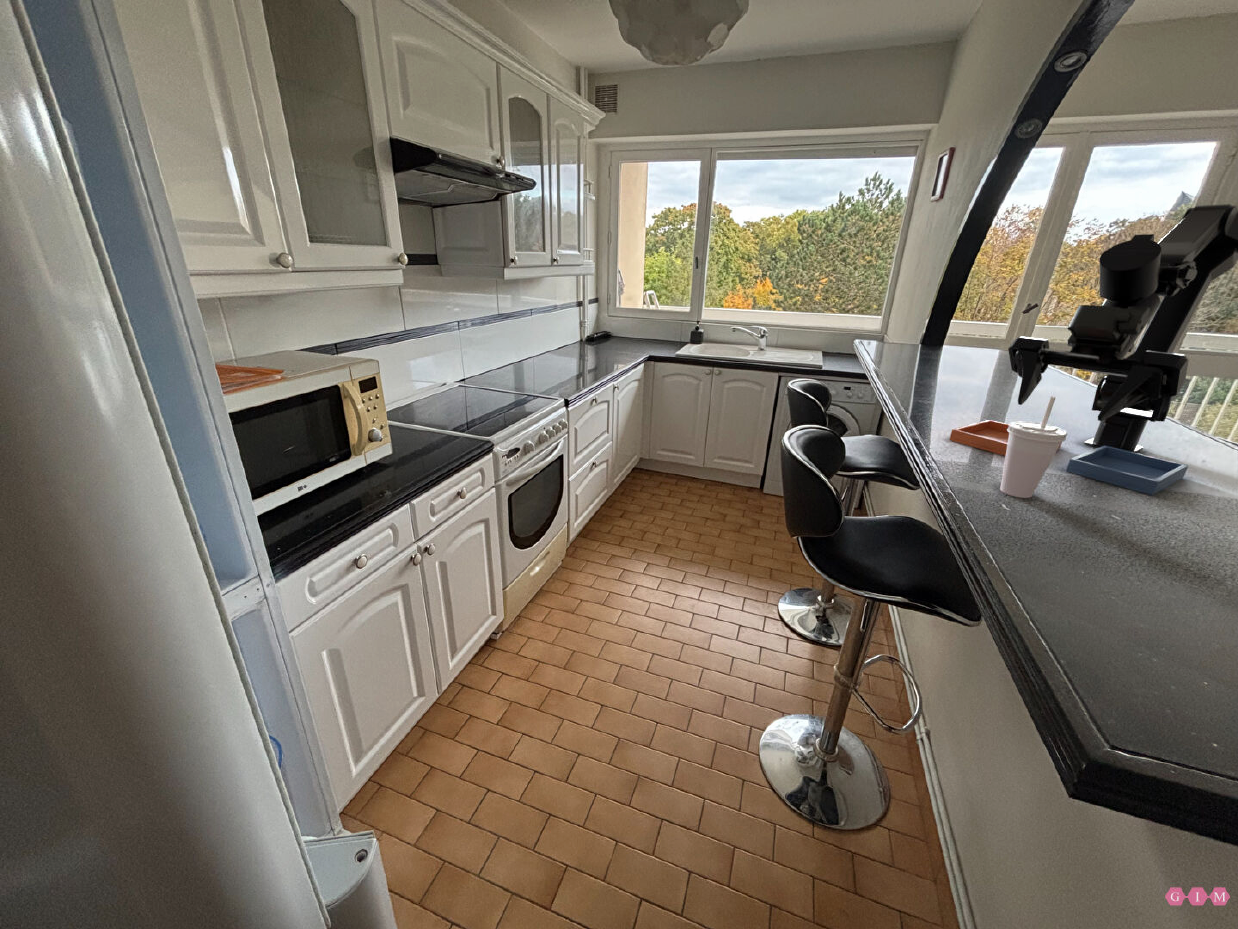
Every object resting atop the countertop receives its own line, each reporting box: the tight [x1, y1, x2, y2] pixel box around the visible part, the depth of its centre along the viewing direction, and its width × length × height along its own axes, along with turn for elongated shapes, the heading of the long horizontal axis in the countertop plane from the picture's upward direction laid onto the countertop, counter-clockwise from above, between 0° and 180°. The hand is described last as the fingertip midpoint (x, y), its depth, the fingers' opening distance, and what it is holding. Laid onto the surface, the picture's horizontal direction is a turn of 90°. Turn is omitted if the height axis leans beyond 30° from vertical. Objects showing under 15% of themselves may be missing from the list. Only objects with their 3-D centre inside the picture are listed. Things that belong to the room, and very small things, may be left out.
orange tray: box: [948, 419, 1063, 457], centre depth 91 cm, size 13×12×2 cm
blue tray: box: [1065, 446, 1190, 496], centre depth 79 cm, size 13×10×2 cm
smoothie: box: [999, 396, 1068, 499], centre depth 70 cm, size 6×6×14 cm
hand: (1057, 410), depth 70 cm, fingers open, 9 cm apart
